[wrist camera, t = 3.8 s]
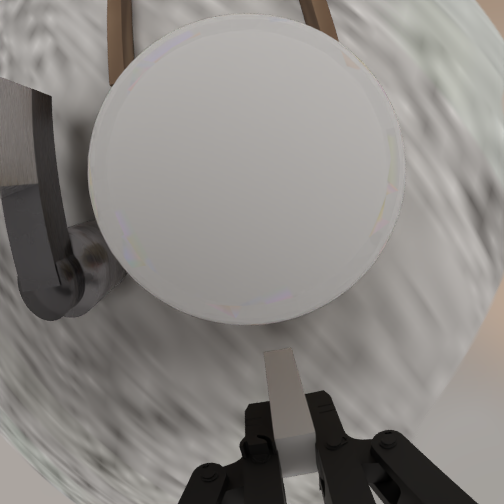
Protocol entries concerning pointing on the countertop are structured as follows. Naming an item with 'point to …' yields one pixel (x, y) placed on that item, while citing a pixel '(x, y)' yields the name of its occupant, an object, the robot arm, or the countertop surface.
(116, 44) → the brown u-shaped wooden bracket
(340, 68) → the coffee cup
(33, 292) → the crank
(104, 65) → the countertop surface
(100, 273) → the pedestal
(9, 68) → the countertop surface
